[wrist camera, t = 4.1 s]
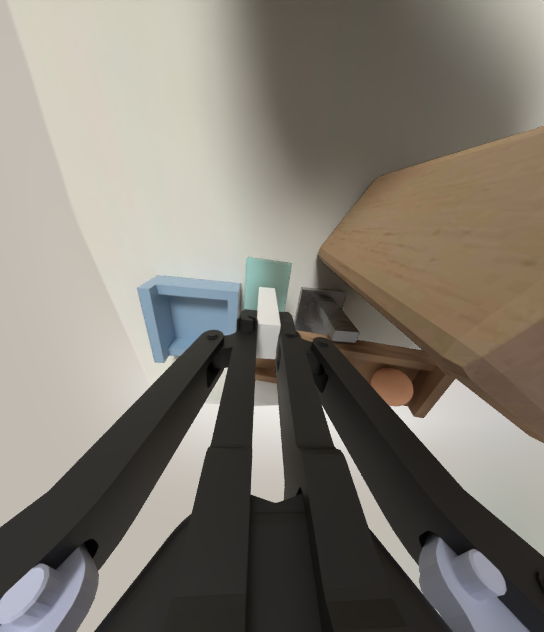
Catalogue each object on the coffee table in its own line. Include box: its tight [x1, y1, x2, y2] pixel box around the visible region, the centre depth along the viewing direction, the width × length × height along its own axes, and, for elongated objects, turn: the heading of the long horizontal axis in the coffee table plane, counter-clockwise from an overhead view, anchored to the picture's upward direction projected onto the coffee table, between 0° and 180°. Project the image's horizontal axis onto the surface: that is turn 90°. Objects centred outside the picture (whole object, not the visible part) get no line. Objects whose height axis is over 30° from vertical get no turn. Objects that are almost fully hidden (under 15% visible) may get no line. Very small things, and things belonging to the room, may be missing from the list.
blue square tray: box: [137, 275, 241, 363], centre depth 25 cm, size 10×10×4 cm
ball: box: [371, 368, 413, 406], centre depth 19 cm, size 4×4×4 cm
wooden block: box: [318, 126, 544, 443], centre depth 14 cm, size 10×10×20 cm
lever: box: [244, 257, 456, 418], centre depth 19 cm, size 20×13×4 cm, turn 83°
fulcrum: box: [294, 287, 360, 343], centre depth 24 cm, size 6×11×9 cm, turn 173°
